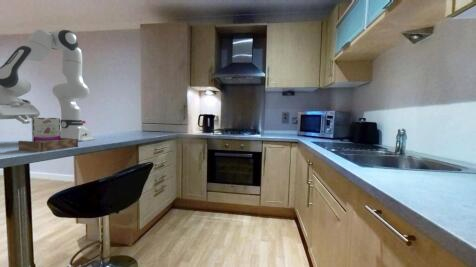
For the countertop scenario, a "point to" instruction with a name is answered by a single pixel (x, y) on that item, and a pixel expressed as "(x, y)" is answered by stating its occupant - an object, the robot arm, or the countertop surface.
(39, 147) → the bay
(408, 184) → the countertop surface
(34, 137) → the candy bar box
